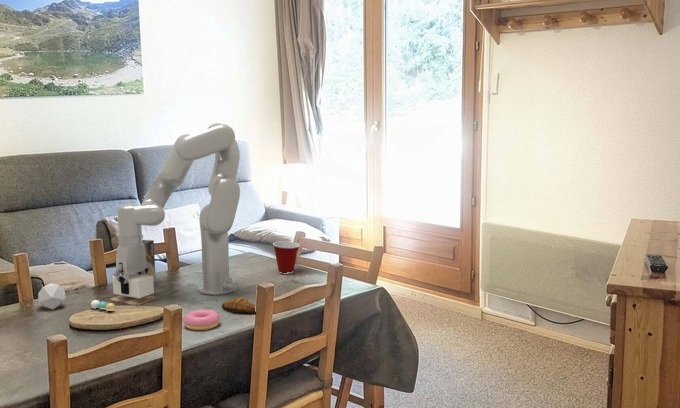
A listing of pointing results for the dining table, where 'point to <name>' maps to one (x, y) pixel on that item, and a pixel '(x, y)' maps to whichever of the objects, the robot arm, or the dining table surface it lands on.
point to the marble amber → (110, 306)
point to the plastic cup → (286, 255)
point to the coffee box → (150, 257)
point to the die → (51, 296)
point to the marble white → (94, 304)
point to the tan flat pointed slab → (133, 299)
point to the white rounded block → (135, 285)
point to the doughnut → (201, 319)
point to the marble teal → (102, 304)
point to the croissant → (239, 305)
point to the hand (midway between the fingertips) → (133, 290)
